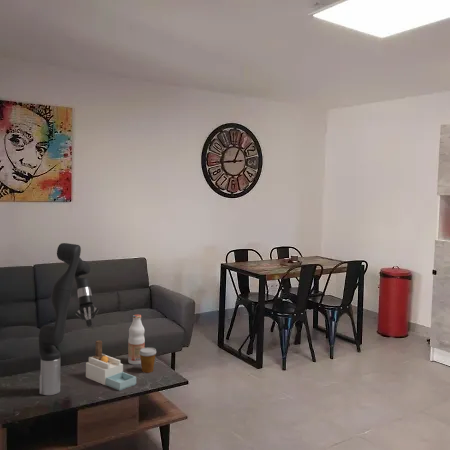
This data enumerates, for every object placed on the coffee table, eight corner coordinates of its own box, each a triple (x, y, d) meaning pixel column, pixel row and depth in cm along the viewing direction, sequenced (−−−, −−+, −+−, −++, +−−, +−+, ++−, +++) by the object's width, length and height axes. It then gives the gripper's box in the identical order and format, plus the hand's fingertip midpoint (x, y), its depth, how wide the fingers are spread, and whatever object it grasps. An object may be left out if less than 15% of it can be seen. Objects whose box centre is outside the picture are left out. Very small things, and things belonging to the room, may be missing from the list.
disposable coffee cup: (157, 368, 282) (158, 347, 281) (153, 374, 273) (154, 353, 272) (141, 367, 283) (141, 346, 282) (136, 373, 274) (137, 352, 273)
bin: (119, 390, 250) (119, 383, 249) (105, 385, 256) (105, 377, 256) (136, 384, 258) (136, 377, 258) (122, 378, 265) (122, 371, 265)
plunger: (97, 363, 264) (97, 343, 264) (92, 361, 267) (92, 341, 266) (105, 360, 269) (105, 341, 268) (100, 359, 271) (101, 339, 270)
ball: (100, 364, 263) (100, 357, 263) (101, 362, 267) (101, 354, 267) (107, 364, 263) (107, 357, 263) (108, 362, 267) (108, 354, 267)
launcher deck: (104, 385, 256) (105, 365, 255) (85, 377, 266) (85, 358, 265) (122, 378, 266) (123, 359, 265) (103, 371, 275) (104, 352, 275)
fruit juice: (125, 363, 288) (125, 316, 286) (133, 358, 297) (134, 312, 295) (139, 365, 285) (140, 318, 283) (147, 360, 294) (148, 314, 291)
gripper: (72, 296, 273) (77, 327, 267) (97, 292, 277) (102, 323, 271) (72, 300, 279) (77, 330, 273) (96, 296, 284) (101, 326, 278)
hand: (89, 326), depth 272 cm, fingers closed
